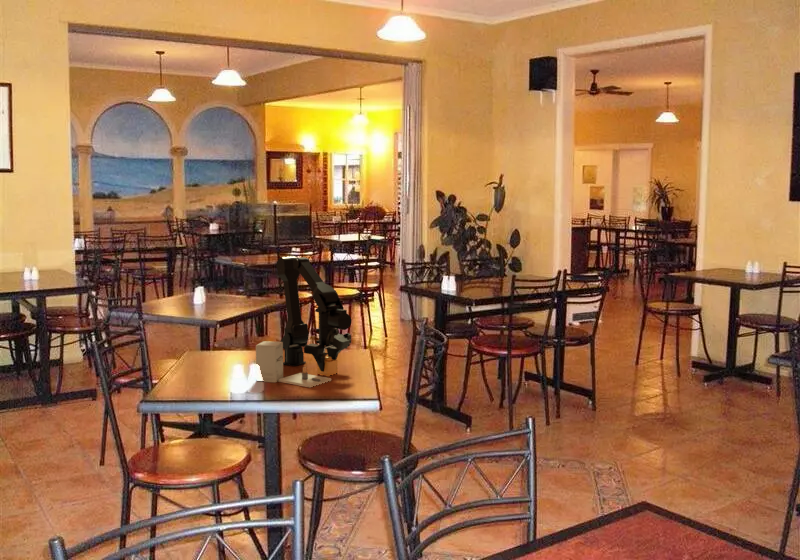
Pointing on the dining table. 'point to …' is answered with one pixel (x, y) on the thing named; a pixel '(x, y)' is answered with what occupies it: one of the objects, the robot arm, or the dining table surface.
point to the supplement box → (270, 360)
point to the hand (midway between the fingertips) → (327, 369)
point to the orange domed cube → (328, 367)
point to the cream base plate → (304, 379)
